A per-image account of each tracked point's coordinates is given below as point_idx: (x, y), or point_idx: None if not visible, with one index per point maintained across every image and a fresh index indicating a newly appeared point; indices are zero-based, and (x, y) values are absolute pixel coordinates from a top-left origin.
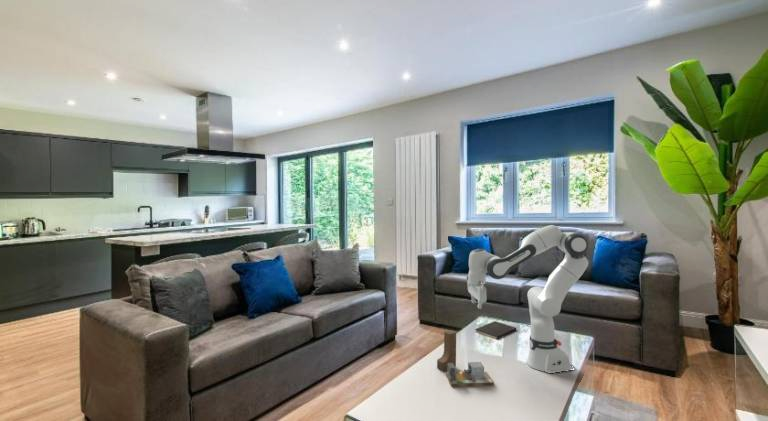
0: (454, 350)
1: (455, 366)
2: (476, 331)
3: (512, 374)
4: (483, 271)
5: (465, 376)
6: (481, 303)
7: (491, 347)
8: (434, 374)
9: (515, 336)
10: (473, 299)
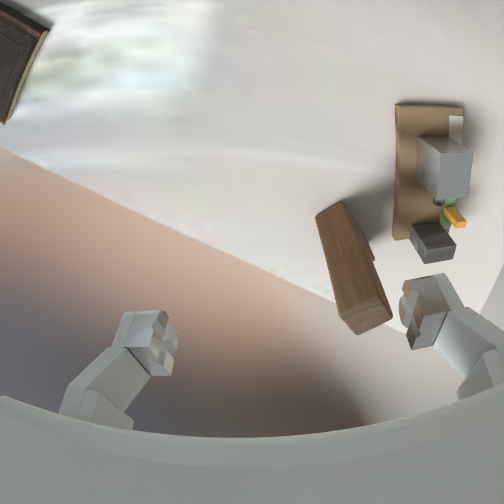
0: (362, 245)
1: (343, 204)
2: (9, 115)
3: (387, 8)
4: None
5: (424, 189)
6: (494, 342)
7: (127, 41)
8: (379, 262)
9: None
10: (140, 366)
